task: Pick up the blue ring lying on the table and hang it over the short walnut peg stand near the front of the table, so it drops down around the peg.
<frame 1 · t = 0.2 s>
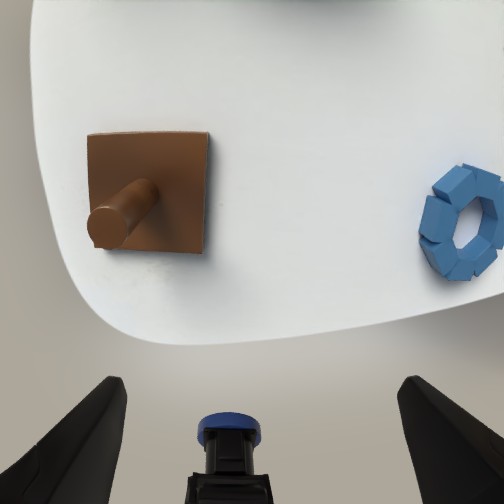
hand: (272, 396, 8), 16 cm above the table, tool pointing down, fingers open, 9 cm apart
blue ring: (462, 220, 24), on the table
peg stand: (147, 190, 22), on the table
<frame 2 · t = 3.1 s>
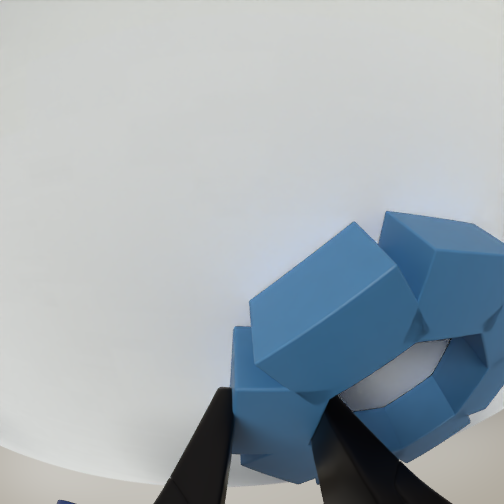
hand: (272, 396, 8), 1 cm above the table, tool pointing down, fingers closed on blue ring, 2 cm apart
blue ring: (383, 361, 10), on the table, touching gripper
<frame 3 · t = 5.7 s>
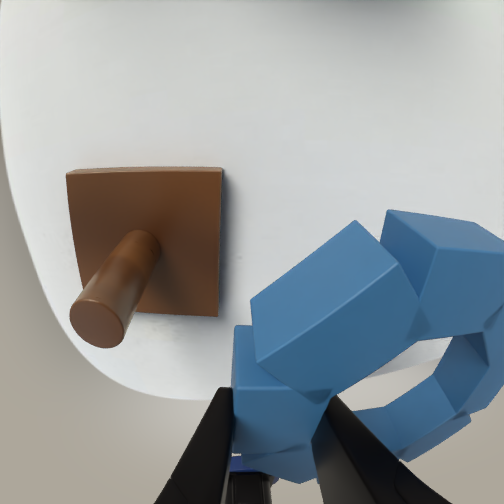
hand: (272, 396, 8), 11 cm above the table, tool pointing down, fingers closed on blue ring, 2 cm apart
blue ring: (384, 360, 10), point 10 cm above the table, touching gripper
peg stand: (146, 240, 18), on the table
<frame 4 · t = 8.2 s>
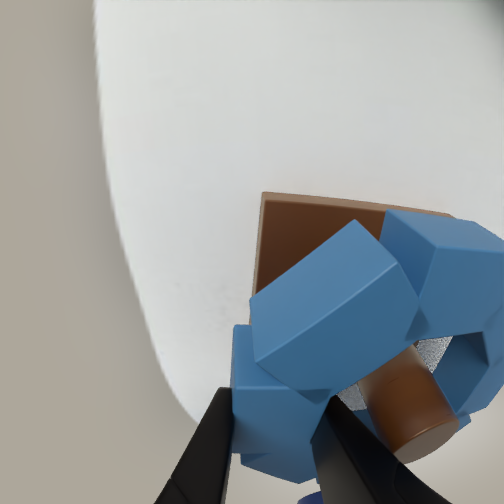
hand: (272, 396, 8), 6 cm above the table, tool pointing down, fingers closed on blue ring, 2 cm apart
blue ring: (384, 359, 10), point 4 cm above the table, touching gripper
peg stand: (348, 295, 14), on the table
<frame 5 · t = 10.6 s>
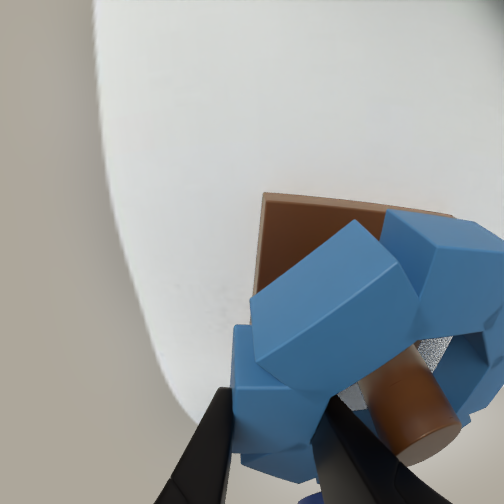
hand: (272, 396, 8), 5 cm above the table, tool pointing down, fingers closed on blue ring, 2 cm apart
blue ring: (384, 359, 10), point 4 cm above the table, touching gripper
peg stand: (349, 297, 13), on the table
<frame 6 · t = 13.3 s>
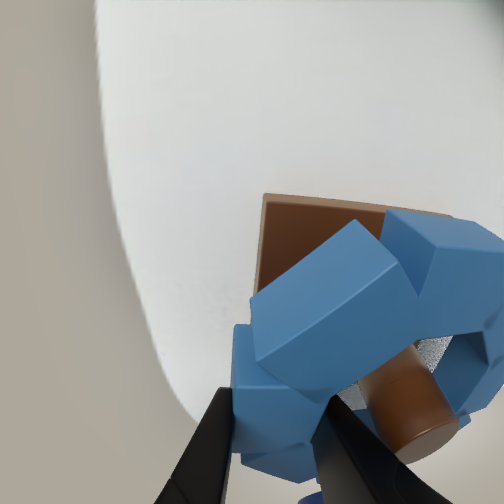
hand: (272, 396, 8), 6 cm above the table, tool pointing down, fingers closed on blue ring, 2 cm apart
blue ring: (384, 359, 10), point 4 cm above the table, touching gripper
peg stand: (349, 296, 14), on the table
when the fingers open (8 cm above the table, at t = 14.2 s): blue ring drops 6 cm, resting on peg stand.
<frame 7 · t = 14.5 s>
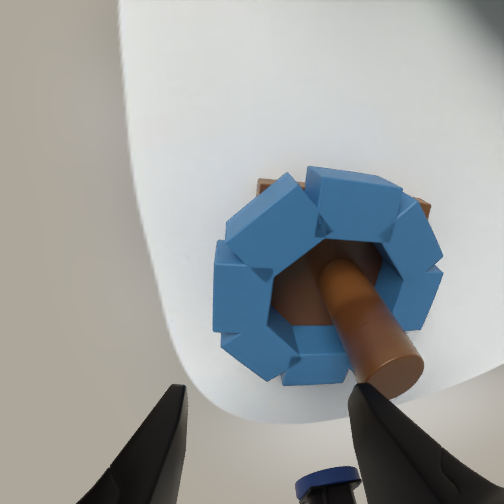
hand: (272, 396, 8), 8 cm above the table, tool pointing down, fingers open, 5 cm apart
blue ring: (324, 277, 15), point 1 cm above the table, touching peg stand
peg stand: (332, 268, 16), on the table
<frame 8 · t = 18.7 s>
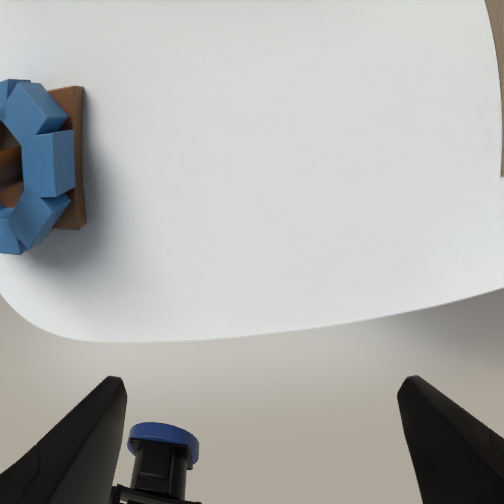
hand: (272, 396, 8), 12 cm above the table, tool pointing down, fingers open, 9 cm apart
blue ring: (12, 164, 15), point 1 cm above the table, touching peg stand
peg stand: (29, 160, 16), on the table
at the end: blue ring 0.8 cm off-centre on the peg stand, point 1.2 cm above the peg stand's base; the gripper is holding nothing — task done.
